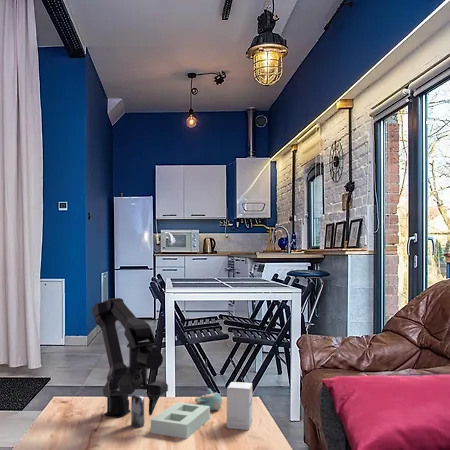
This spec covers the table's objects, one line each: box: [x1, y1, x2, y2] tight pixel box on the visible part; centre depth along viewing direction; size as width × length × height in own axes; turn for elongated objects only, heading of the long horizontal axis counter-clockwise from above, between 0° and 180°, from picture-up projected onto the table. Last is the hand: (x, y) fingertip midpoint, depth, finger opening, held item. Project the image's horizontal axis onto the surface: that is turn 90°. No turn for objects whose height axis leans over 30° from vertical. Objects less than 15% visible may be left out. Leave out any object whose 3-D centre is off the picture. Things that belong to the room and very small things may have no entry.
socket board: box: [150, 401, 211, 440], centre depth 152 cm, size 12×18×4 cm, turn 159°
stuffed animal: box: [194, 387, 223, 411], centre depth 170 cm, size 11×7×12 cm
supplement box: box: [226, 381, 253, 431], centre depth 153 cm, size 7×7×13 cm
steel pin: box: [130, 394, 145, 429], centre depth 152 cm, size 4×4×9 cm
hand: (137, 413), depth 153 cm, fingers open, 9 cm apart
